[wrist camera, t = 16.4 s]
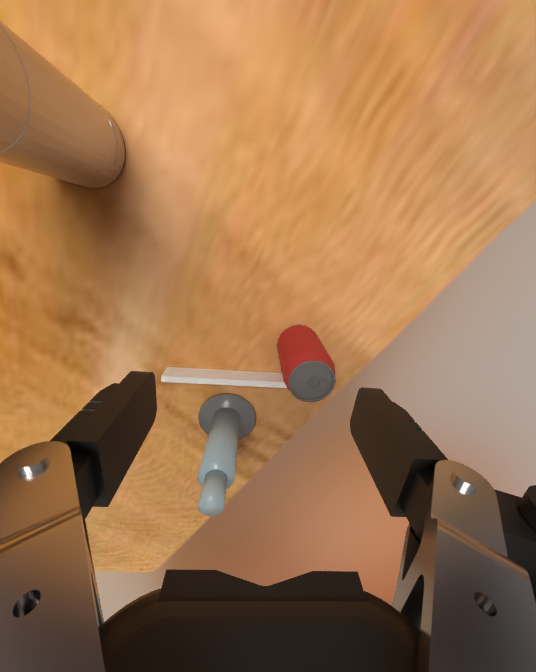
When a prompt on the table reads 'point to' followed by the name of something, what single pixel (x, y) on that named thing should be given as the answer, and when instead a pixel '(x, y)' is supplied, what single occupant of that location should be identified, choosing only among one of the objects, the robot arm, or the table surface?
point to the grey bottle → (218, 461)
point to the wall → (223, 377)
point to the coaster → (228, 401)
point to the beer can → (305, 364)
